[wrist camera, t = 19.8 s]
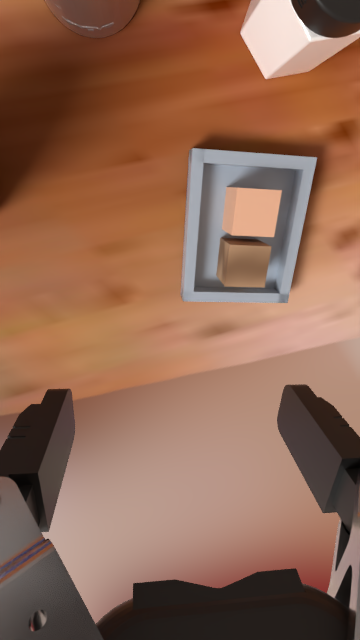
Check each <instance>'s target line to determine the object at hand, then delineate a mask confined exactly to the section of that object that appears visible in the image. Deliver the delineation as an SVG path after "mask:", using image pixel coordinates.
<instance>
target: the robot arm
mask: <svg viewBox="0 0 360 640" xmlns="http://www.w3.org/2000/svg"><path fill="white" fill-rule="evenodd" d="M45 2H46V4H47V5H48V7H49V9H50V10H51V12H52V13H53V14H54V15H55V16H56V17H57V19H58V20H59V21H60V22H61V23H63V24H64V25H65V26H66V27H68V28H69V29H70V30H72V31H74V32H76V33H78V34H80V35H82V36H86V37H90V38H104V37H107V36H110V35H113V34H115V33H117V32H118V31H120V30H121V29H123V28H124V27H125V26H126V25H127V24H128V23H129V21H130V20H131V19H132V17H133V15H134V14H135V12H136V10H137V8H138V5H139V2H140V0H45ZM277 423H278V429H279V432H280V434H281V436H282V438H283V440H284V442H285V443H286V445H287V447H288V449H289V451H290V453H291V455H292V456H293V458H294V460H295V462H296V464H297V466H298V467H299V469H300V471H301V473H302V475H303V477H304V478H305V481H306V482H307V484H308V486H309V488H310V490H311V491H312V493H313V495H314V497H315V499H316V501H317V503H318V505H319V506H320V508H321V510H322V512H323V513H332V512H337V513H338V515H339V516H340V518H341V519H340V522H339V525H338V530H337V537H336V544H335V552H334V559H333V566H332V574H331V580H330V584H329V589H328V592H327V593H325V592H323V591H321V590H319V589H317V588H314V587H311V586H309V585H306V584H302V583H301V580H300V578H299V575H298V572H297V570H296V569H284V570H274V571H263V572H257V573H254V574H252V575H250V576H248V577H245V578H243V579H241V580H239V581H237V582H234V583H232V584H230V585H228V586H226V587H223V588H212V587H207V586H203V585H198V584H193V583H189V582H184V581H179V580H166V581H155V582H144V583H134V584H133V598H132V599H130V600H128V601H125V602H123V603H122V604H120V605H118V606H117V607H115V608H114V609H112V610H111V611H110V612H109V613H107V614H106V615H105V616H103V618H101V619H100V620H99V622H97V623H96V624H95V622H94V621H93V619H92V617H91V615H90V613H89V611H88V609H87V607H86V605H85V604H84V602H83V600H82V598H81V596H80V594H79V592H78V591H77V589H76V587H75V585H74V583H73V581H72V579H71V577H70V575H69V574H68V572H67V570H66V568H65V566H64V564H63V562H62V560H61V558H60V557H59V555H58V553H57V551H56V549H55V547H54V545H53V544H52V542H51V541H50V540H49V539H46V540H45V538H44V537H43V535H42V533H41V532H48V531H49V528H50V525H51V521H52V518H53V514H54V510H55V506H56V503H57V499H58V495H59V491H60V488H61V484H62V481H63V477H64V473H65V469H66V466H67V462H68V459H69V455H70V451H71V448H72V443H73V440H74V434H75V420H74V411H73V401H72V392H71V389H48V390H47V392H46V394H45V396H44V398H43V400H42V402H41V404H31V405H30V406H29V407H27V408H26V409H25V410H24V411H23V412H22V413H21V414H20V415H19V416H18V418H17V420H16V422H15V424H14V426H13V429H11V431H10V433H9V435H8V439H6V441H5V443H4V444H3V446H2V448H1V450H0V640H360V437H359V436H358V435H357V434H356V432H355V431H354V430H353V429H352V428H351V427H349V424H348V423H347V422H346V421H345V420H344V418H342V416H341V415H340V414H339V412H338V411H337V410H336V409H335V407H334V406H332V405H331V404H330V403H328V402H327V401H325V400H324V399H322V398H321V397H317V396H316V395H315V394H314V393H313V391H312V390H311V389H310V388H309V386H307V385H286V386H285V387H284V390H283V394H282V399H281V403H280V408H279V412H278V417H277Z"/></svg>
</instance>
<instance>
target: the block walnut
mask: <svg viewBox="0 0 360 640" xmlns="http://www.w3.org/2000/svg"><path fill="white" fill-rule="evenodd" d="M271 247H272V246H270V245H268V244H266V243H264V242H262V241H260V240H258V239H237V238H220V245H219V254H218V264H217V273H216V276H217V277H218V278H219V280H220V281H221V282H222V283H223V285H224V286H225V287H264V288H265V282H266V276H267V270H268V265H269V259H270V253H271Z"/></svg>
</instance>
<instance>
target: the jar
mask: <svg viewBox="0 0 360 640" xmlns="http://www.w3.org/2000/svg"><path fill="white" fill-rule="evenodd" d="M240 33H241V36H242V38H243V39H244V41H245V43H246V45H247V47H248V48H249V50H250V52H251V54H252V56H253V57H254V59H255V61H256V63H257V65H258V67H259V68H260V70H261V72H262V74H263V76H264V77H265V79H270V78H276V77H281V76H287V75H292V74H298V73H304V72H309V71H310V70H312V69H313V68H315V67H316V66H318V65H319V64H321V63H322V62H324V61H325V60H327V59H328V58H330V57H331V56H333V55H334V54H336V53H337V52H339V51H340V50H342V49H343V48H345V47H346V46H348V45H349V44H351V43H352V42H354V41H355V40H357V39H358V38H360V0H251V3H250V5H249V8H248V11H247V14H246V17H245V20H244V23H243V26H242V28H241V32H240Z"/></svg>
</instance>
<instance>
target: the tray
mask: <svg viewBox="0 0 360 640" xmlns="http://www.w3.org/2000/svg"><path fill="white" fill-rule="evenodd" d="M316 161H317V157H304V156H291V155H278V154H264V153H251V152H238V151H224V150H211V149H198V148H192V149H191V150H189V163H188V180H187V197H186V214H185V230H184V247H183V264H182V281H181V297H182V300H183V301H199V302H259V303H288V298H289V293H290V288H291V283H292V278H293V273H294V268H295V264H296V259H297V254H298V249H299V244H300V239H301V234H302V229H303V224H304V220H305V215H306V210H307V205H308V200H309V195H310V190H311V185H312V180H313V175H314V171H315V166H316ZM226 187H235V188H251V189H268V190H282V193H281V199H280V205H279V211H278V217H277V223H276V229H275V234H274V237H258V236H234V235H230V234H229V233H227V232H225V231H224V230H222V224H223V214H224V205H225V195H226ZM220 238H237V239H258V240H260V241H262V242H264V243H266V244H268V245H270V246H272V247H271V253H270V259H269V265H268V270H267V276H266V282H265V288H264V287H225V286H224V285H223V283H222V282H221V281H220V280H219V278H218V277H217V276H216V273H217V264H218V254H219V245H220Z"/></svg>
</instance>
